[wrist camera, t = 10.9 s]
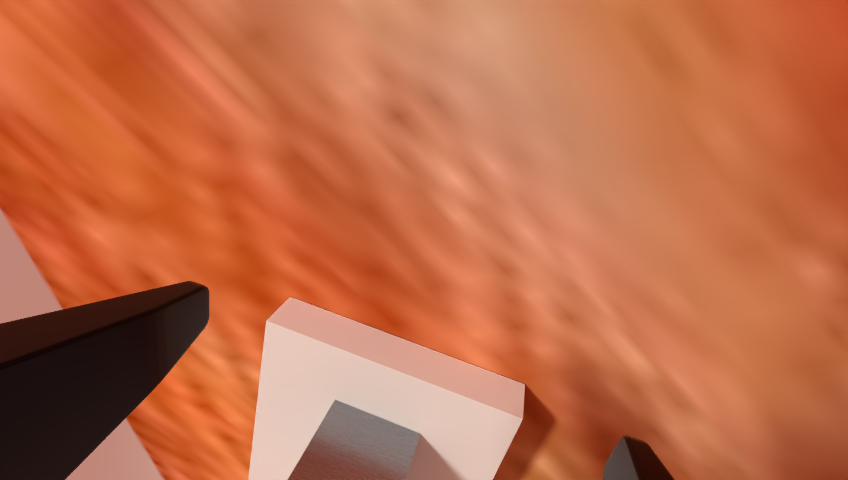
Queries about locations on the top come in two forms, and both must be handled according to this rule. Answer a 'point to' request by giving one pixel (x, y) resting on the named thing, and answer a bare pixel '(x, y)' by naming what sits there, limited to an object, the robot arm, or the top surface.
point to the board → (377, 395)
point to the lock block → (356, 448)
